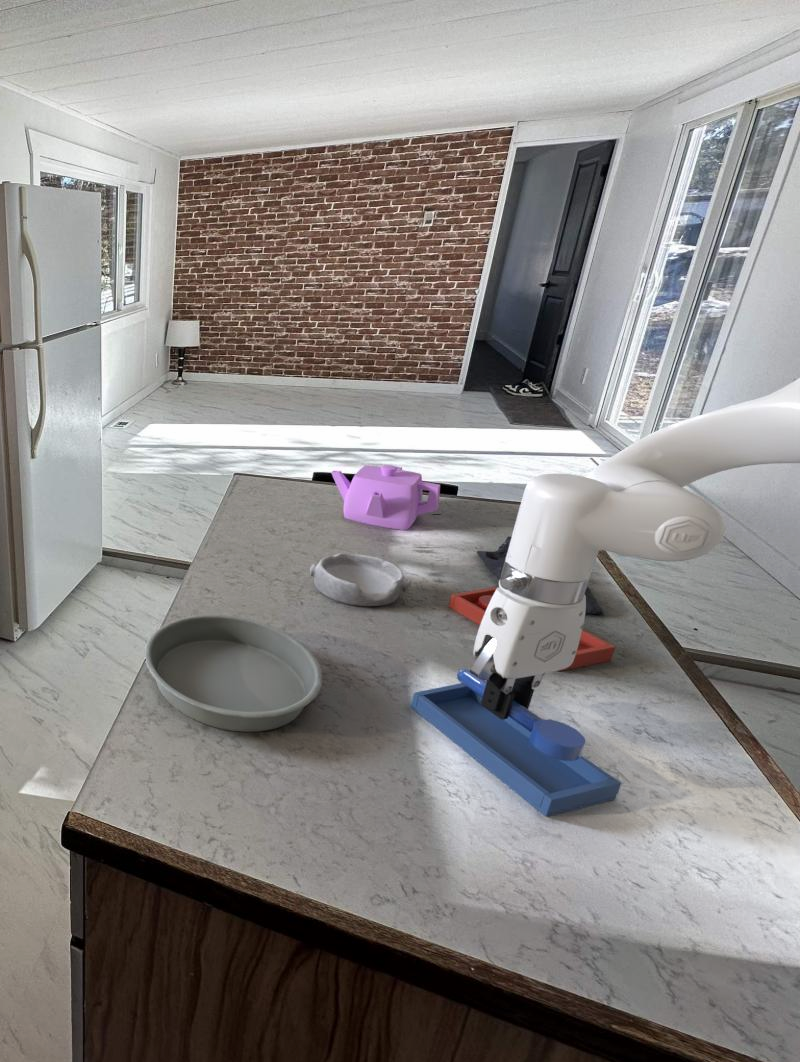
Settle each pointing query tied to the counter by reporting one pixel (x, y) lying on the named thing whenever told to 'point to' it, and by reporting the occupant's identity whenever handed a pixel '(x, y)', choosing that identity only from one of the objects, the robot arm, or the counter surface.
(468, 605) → the red tray
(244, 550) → the counter surface
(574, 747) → the blue spoon
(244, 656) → the cake pan
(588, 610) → the dark slate chunk
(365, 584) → the dish
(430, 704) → the blue tray
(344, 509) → the teakettle
